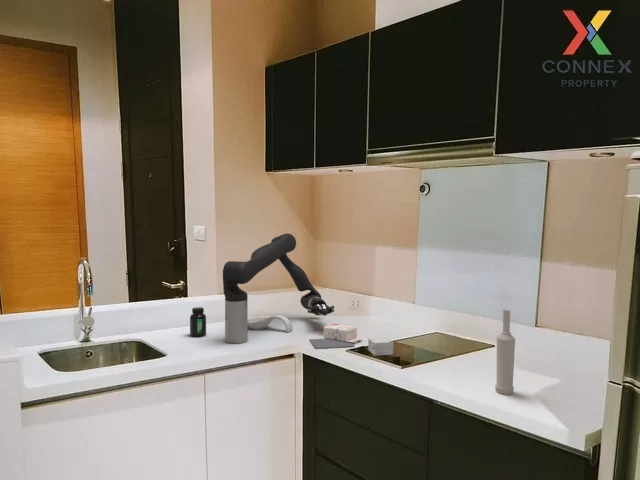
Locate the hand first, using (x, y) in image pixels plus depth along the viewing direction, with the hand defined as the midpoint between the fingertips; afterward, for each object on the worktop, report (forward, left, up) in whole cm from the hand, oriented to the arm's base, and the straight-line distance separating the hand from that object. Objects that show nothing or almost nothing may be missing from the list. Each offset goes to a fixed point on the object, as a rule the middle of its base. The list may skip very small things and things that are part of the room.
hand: (325, 313), depth 212 cm
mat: (0, -13, -10) cm, 16 cm away
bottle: (+39, -75, -10) cm, 85 cm away
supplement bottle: (-54, +11, -10) cm, 56 cm away
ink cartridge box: (+1, -2, -7) cm, 7 cm away
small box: (+16, -28, -10) cm, 34 cm away
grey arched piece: (-23, +17, -10) cm, 31 cm away
